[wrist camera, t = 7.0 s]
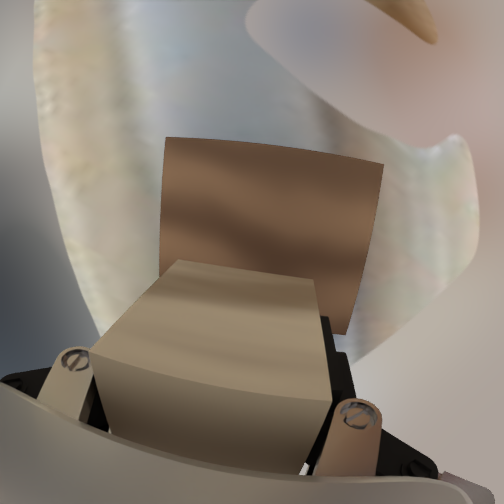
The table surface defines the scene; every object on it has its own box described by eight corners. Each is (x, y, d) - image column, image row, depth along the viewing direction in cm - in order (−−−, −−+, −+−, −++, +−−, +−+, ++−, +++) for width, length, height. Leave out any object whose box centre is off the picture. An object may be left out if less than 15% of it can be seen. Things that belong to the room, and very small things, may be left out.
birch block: (178, 259, 11) (88, 351, 5) (313, 279, 11) (332, 400, 5) (178, 363, 13) (124, 468, 7) (289, 382, 12) (283, 502, 7)
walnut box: (186, 139, 26) (165, 136, 21) (366, 162, 25) (383, 164, 20) (178, 283, 31) (159, 306, 26) (337, 307, 29) (345, 334, 25)
